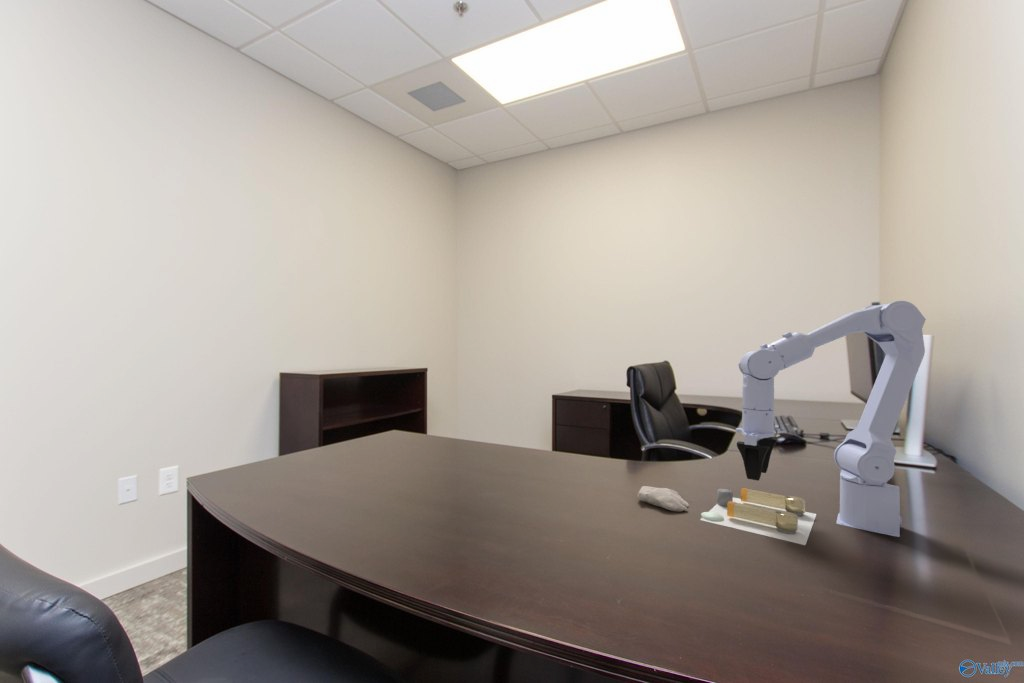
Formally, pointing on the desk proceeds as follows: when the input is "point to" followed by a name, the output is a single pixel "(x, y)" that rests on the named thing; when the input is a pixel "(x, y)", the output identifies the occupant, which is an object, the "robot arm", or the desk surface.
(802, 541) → the levelling base
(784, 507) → the far capped tube
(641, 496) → the decorative stone
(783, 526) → the translucent tan bar
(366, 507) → the desk surface
